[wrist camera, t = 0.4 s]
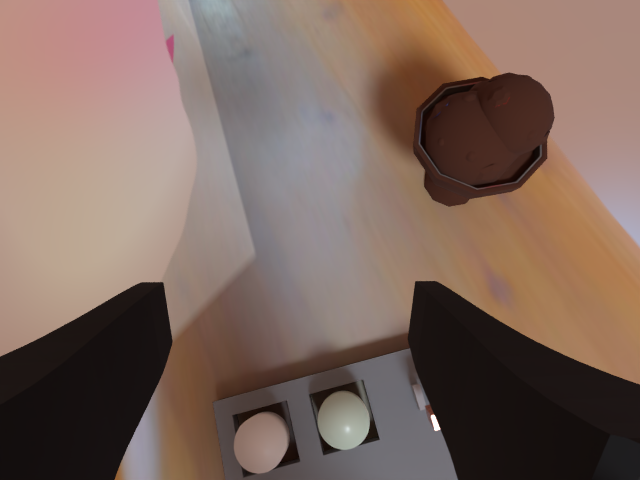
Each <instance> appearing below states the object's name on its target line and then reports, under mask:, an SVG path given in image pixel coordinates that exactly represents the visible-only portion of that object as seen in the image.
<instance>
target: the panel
mask: <svg viewBox="0 0 640 480" xmlns="http://www.w3.org/2000/svg"><path fill="white" fill-rule="evenodd" d="M359 380H363V382H364V386H365V390H366V393H367V397H368V400H369V404H370V408H371V411H372V415H373V419H374V422H375V426H376V429H377V433H378V437H375V438H371V439H368V440H364V441H363V442H362V443H361V444H359V445H358V446H356V447H355V448H352V449H348V450H340V449H336V448H335V449H331V450H328V451H324V449H323V445H322V441H321V437H320V432H319V428H318V424H317V420H316V415H315V411H314V407H313V403H312V398H311V394H312V393H315V392H319V391H323V390H326V389H330V388H334V387H337V386H341V385H345V384H348V383H352V382H356V381H359ZM286 400H287V403H288V407H289V412H290V417H291V421H292V426H293V430H294V435H295V440H296V444H297V449H298V453H299V459H295V460H292V461H288V462H285V463H281V464H278V465H277V466H276V467H275V468H273V469H272V470H270V471H268V472H266V473H260V474H257V473H252V472H248V473H247V470H246V469H244V468H243V467H242V466H241V465H240V463H239V462H238V460H237V458H236V456H235V452H234V439H235V435H236V433H237V431H238V429H239V424H238V418H237V414H239V413H242V412H246V411H250V410H253V409H257V408H261V407H264V406H268V405H272V404H275V403H279V402H283V401H286ZM426 405H429V401H428V399H427V396H426V394H425V392H424V389H423V387H422V384H421V382H420V379H419V377H418V374H417V372H416V369H415V365H414V362H413V358H412V354H411V350H410V348H408V349H404V350H401V351H397V352H393V353H390V354H386V355H382V356H379V357H375V358H371V359H368V360H364V361H360V362H357V363H353V364H349V365H346V366H342V367H338V368H335V369H331V370H327V371H324V372H320V373H316V374H313V375H309V376H306V377H302V378H298V379H295V380H291V381H287V382H284V383H280V384H276V385H273V386H269V387H265V388H262V389H258V390H254V391H251V392H247V393H243V394H240V395H236V396H232V397H229V398H225V399H221V400H218V401H215V402H213V407H214V413H215V419H216V425H217V431H218V437H219V443H220V449H221V456H222V462H223V468H224V474H225V480H458V479H457V475H456V472H455V469H454V465H453V462H452V459H451V456H450V453H449V450H448V448H447V445H446V442H445V439H444V437H443V435H442V432H441V430H436V431H435V430H434V429H433V427H432V425H431V424H430V422H429V420H428V417H427V413H426V409H425V406H426Z"/></svg>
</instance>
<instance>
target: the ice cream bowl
mask: <svg viewBox="0 0 640 480" xmlns="http://www.w3.org/2000/svg"><path fill="white" fill-rule="evenodd" d="M553 121H554V111H553V105H552V100H551V96H550V94H549V93H548V92H547V91H546V90H545V88H544V87H543V86H542V85H541V84H540V83H539V82H537V81H535V80H534V79H532V78H531V77H530V76H527V75H517V74H513V73H506V74H502V75H498V76H495V77H492V78H491V79H487V78H484V77H479V78H473V79H467V80H462V81H456V82H450V83H445V84H442V85H441V86H440V87H439V88H438V89H437V90H436V91H435V92H434V93H433V94H432V95H431V96H430V97H429V98H428V99H427V100H426V101H425V102H424V103H423V104H422V105H421V106H420V107H418V108H417V112H416V123H415V133H414V144H413V147H414V154H415V156H416V157H417V159H418V160H419V162H420V163H421V165H422V166H423V167H424V169H425V170H426V174H425V186H424V187H425V188H426V190H427V191H428V193H429V194H430V196H431V197H432V199H433V200H435V201H437V202H439V203H442V204H444V205H446V206H455V205H460V204H465V203H466V202H467V201H468V200H469V199H473V198H478V197H484V196H490V195H496V194H501V193H507V192H512V191H514V190H516V189H518V188H520V187H521V186H522V185H523V184H524V183H525V182H526V181H527V180H528V179H529V178H530V177H531V175H532V174H533V173H534V172H535V171H536V170H537V169H538V168H539V167H540V166H541V165H542V163H543V162H544V161H545V160H546V159H547V138H548V135H549V133H550V129H551V128H552V124H553Z"/></svg>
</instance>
